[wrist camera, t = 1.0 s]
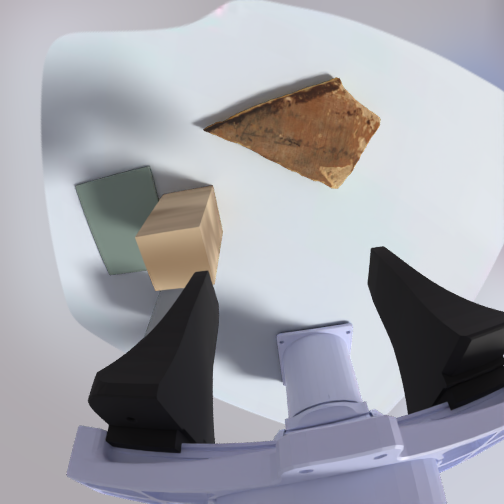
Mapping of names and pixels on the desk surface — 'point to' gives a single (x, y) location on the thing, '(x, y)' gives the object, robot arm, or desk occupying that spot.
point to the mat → (119, 216)
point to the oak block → (181, 238)
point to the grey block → (163, 306)
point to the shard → (306, 131)
